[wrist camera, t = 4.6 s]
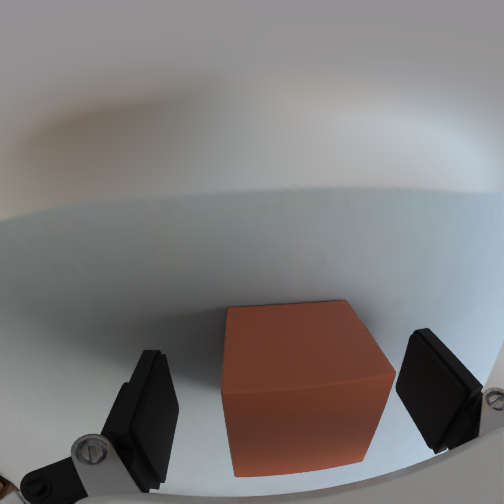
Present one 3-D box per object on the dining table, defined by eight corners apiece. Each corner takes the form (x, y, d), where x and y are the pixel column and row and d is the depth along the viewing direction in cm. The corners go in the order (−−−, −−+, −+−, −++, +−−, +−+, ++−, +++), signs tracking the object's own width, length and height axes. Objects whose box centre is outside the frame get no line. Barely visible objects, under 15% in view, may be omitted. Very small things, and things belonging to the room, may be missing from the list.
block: (226, 306, 11) (220, 392, 6) (346, 299, 11) (397, 372, 6) (235, 394, 12) (234, 477, 8) (333, 385, 12) (362, 461, 8)
